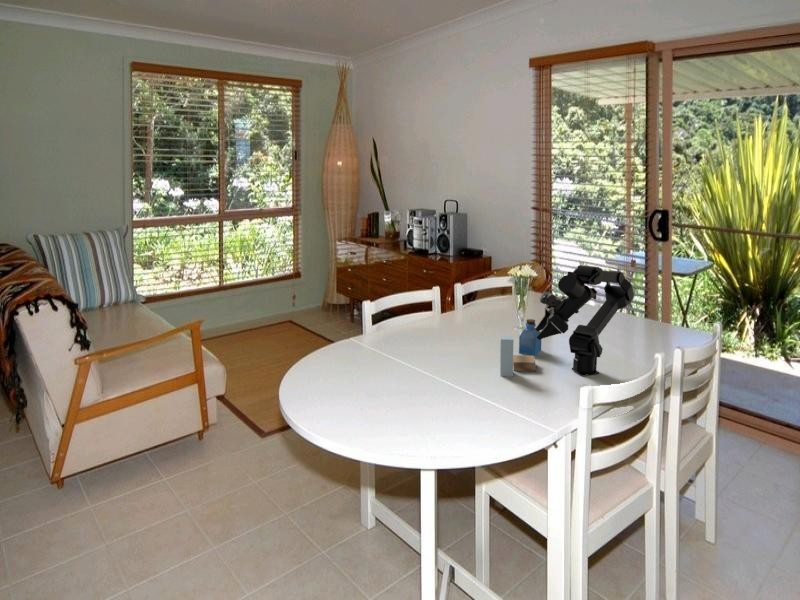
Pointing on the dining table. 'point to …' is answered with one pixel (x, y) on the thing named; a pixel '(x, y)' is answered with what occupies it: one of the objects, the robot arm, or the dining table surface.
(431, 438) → the dining table surface
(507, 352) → the slate-blue post
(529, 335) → the perfume bottle
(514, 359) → the walnut plinth
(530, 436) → the dining table surface
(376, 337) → the dining table surface
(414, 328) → the dining table surface
